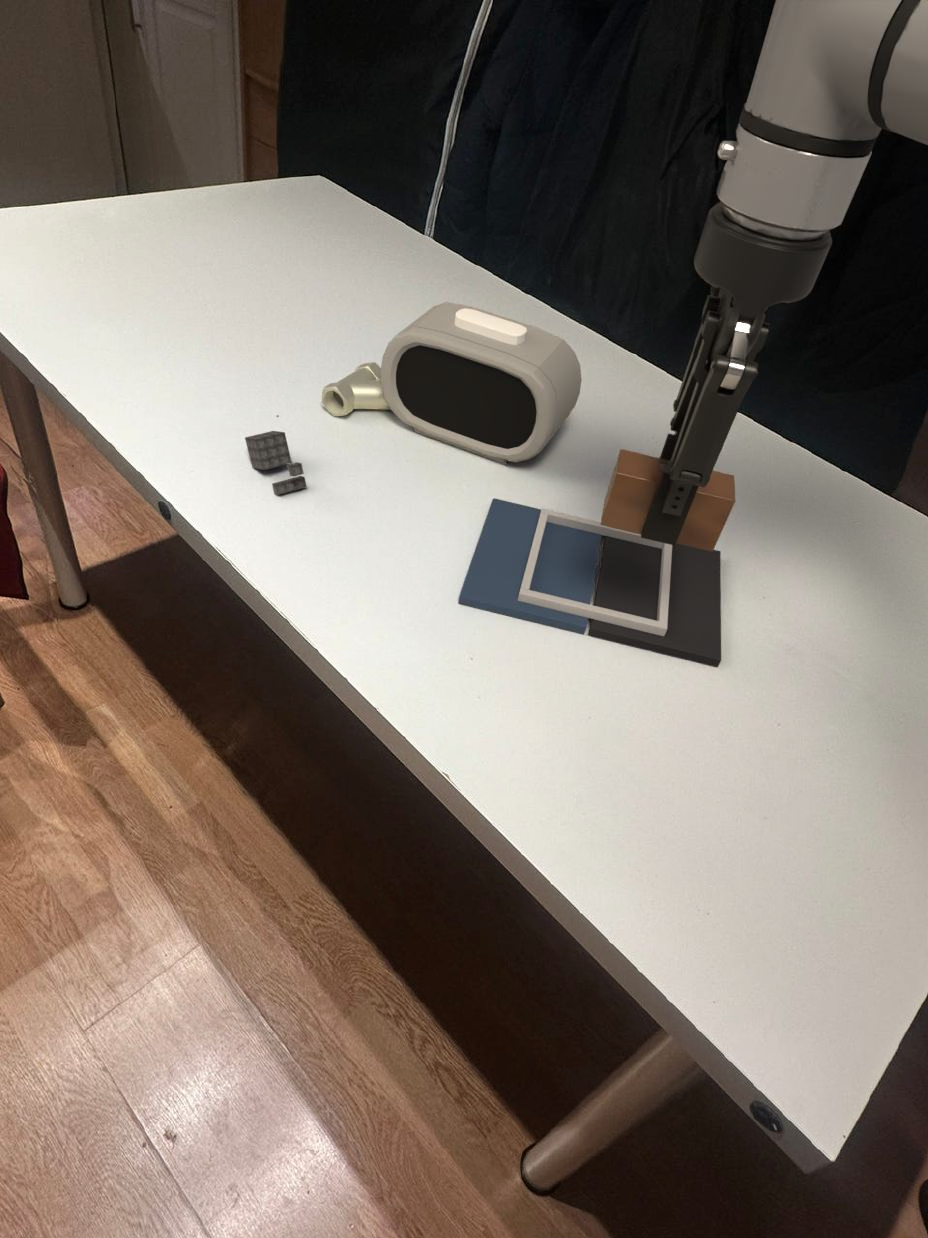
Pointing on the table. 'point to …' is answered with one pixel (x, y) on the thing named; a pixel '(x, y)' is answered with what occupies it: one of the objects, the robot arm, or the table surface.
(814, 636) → the table surface
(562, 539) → the back pads
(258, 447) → the building blocks
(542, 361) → the alarm clock
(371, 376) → the pipe fitting
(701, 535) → the brown rectangular block
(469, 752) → the table surface
